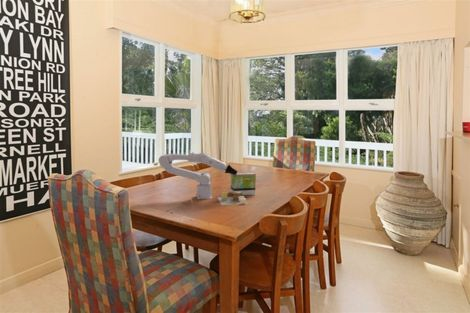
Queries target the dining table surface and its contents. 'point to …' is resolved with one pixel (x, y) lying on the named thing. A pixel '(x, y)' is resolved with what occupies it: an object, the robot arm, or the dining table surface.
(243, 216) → the dining table surface
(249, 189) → the tea box
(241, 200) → the winding board
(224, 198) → the lead tab
